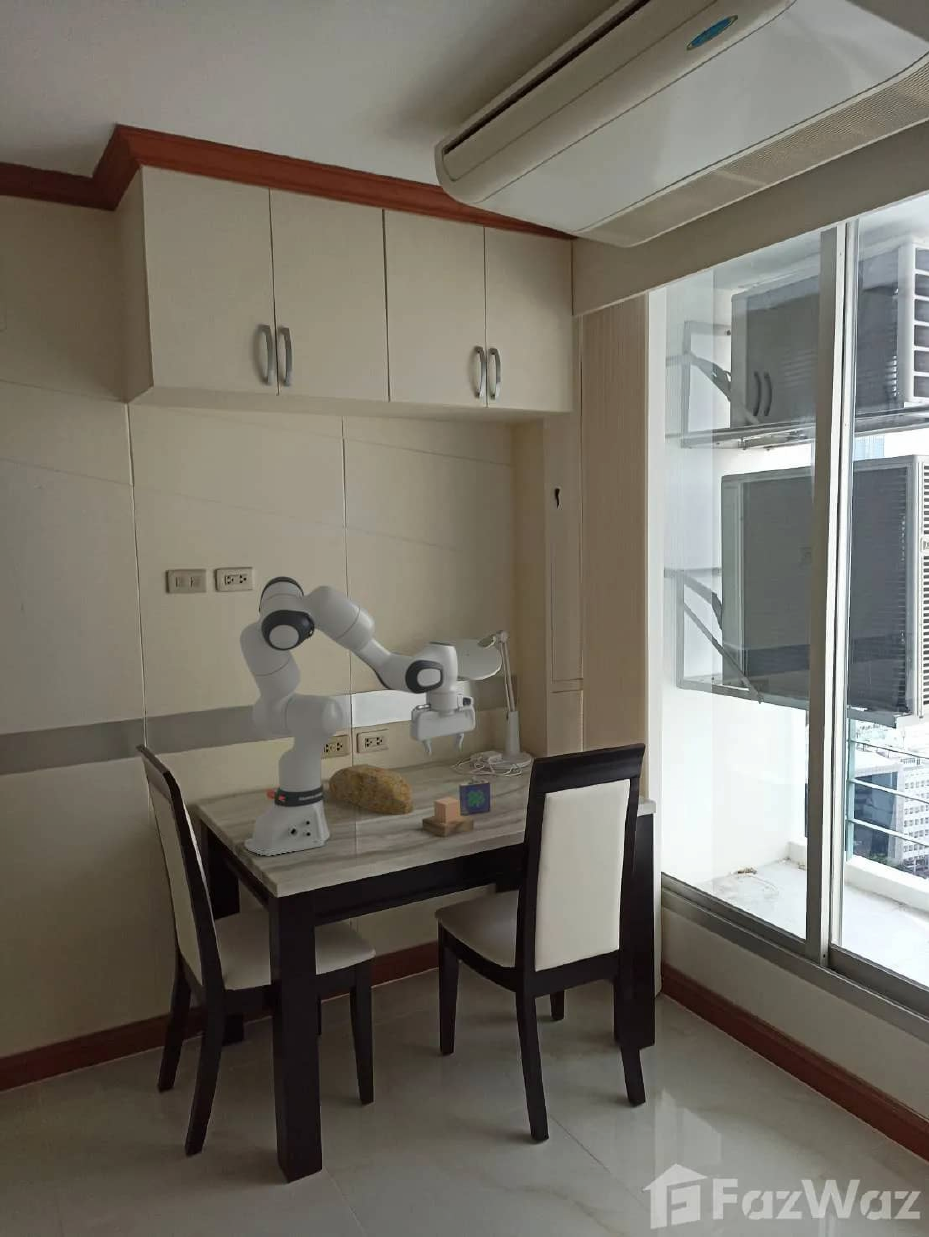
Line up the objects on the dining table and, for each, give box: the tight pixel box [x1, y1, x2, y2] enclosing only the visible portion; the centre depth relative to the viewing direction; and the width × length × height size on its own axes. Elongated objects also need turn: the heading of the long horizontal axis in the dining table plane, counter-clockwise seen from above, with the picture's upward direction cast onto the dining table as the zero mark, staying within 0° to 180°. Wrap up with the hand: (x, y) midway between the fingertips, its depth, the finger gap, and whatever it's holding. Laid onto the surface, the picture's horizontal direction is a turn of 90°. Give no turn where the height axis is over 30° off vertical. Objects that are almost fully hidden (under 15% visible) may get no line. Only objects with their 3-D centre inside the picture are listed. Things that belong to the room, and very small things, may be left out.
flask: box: [458, 775, 491, 817], centre depth 265 cm, size 9×3×11 cm, turn 109°
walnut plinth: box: [421, 815, 475, 838], centre depth 253 cm, size 10×10×3 cm
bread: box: [328, 763, 414, 816], centre depth 279 cm, size 36×11×10 cm, turn 45°
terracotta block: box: [433, 796, 460, 823], centre depth 252 cm, size 5×5×5 cm
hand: (443, 751), depth 251 cm, fingers open, 8 cm apart
